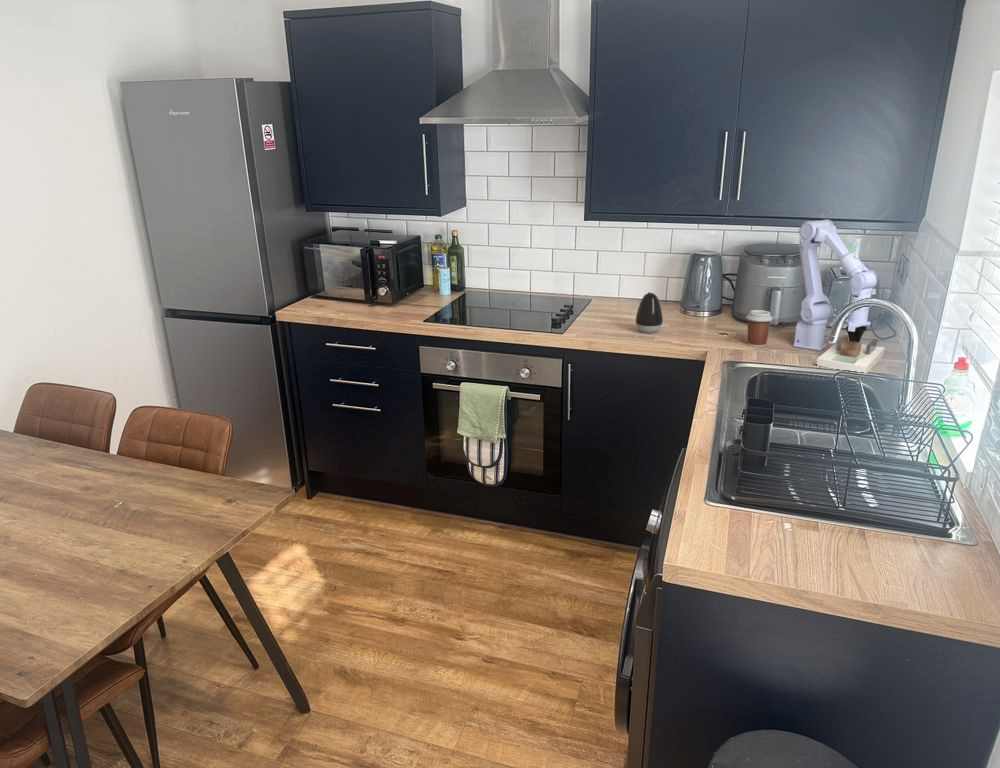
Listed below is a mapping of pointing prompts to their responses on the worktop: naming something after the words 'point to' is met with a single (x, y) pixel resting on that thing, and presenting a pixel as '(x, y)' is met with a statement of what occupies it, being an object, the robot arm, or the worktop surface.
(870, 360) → the channel board
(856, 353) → the walnut block
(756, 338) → the coffee cup
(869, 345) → the channel walls
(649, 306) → the black and white egg-shape
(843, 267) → the robot arm
